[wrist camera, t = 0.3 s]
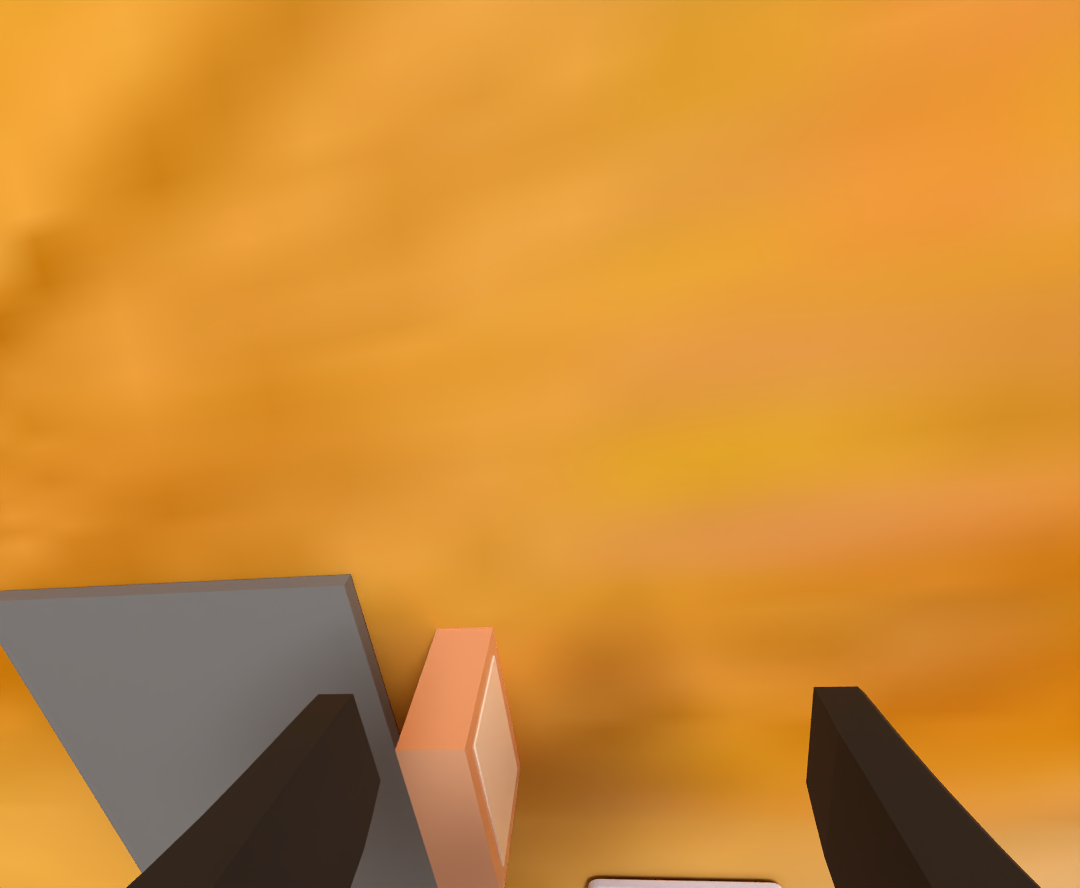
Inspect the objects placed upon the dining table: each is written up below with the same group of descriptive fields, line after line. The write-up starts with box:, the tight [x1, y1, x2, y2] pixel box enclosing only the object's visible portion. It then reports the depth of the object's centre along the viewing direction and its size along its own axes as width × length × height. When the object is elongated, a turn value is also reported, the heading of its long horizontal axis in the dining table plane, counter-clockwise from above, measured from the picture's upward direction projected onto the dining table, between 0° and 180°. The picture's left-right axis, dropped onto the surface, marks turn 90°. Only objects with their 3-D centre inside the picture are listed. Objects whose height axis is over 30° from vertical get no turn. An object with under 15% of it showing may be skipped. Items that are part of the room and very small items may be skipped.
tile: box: [395, 627, 521, 888], centre depth 21 cm, size 7×2×5 cm, turn 7°
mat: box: [0, 574, 438, 888], centre depth 26 cm, size 20×14×1 cm
